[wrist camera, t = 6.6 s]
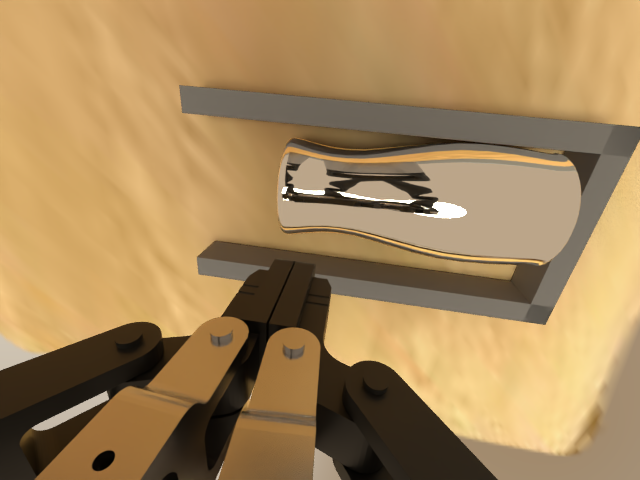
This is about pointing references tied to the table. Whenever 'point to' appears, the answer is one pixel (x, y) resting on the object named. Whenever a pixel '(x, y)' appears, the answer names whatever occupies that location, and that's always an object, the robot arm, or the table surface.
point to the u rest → (571, 136)
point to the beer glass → (434, 198)
